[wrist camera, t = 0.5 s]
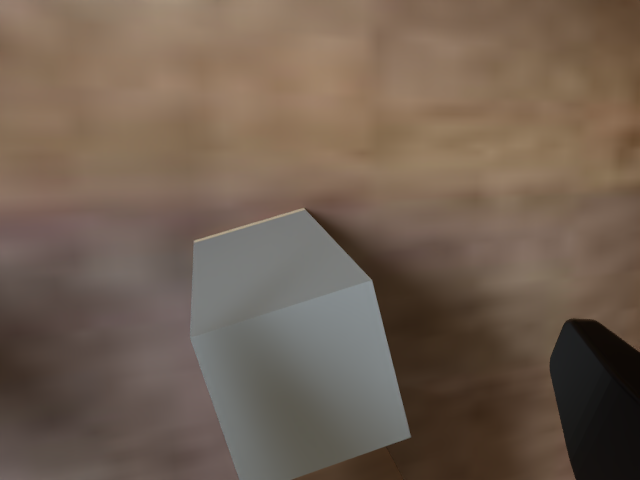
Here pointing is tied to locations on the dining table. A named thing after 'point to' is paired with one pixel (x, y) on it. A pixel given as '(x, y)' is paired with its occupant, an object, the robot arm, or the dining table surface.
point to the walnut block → (360, 468)
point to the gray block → (292, 349)
